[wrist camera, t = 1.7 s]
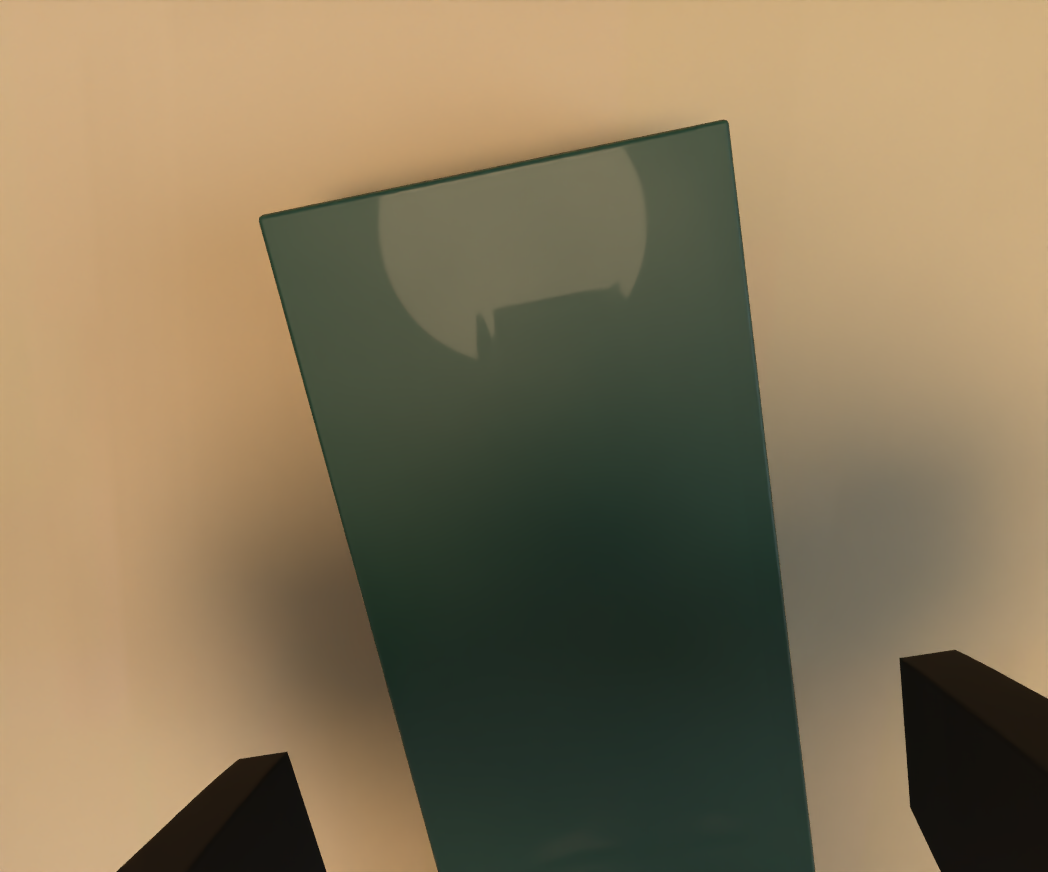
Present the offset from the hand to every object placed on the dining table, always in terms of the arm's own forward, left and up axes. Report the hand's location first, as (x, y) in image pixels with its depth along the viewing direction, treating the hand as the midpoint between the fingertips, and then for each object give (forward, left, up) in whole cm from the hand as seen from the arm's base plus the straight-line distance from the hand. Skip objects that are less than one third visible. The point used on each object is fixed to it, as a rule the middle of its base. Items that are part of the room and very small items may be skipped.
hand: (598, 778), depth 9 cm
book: (0, 0, -4) cm, 5 cm away
